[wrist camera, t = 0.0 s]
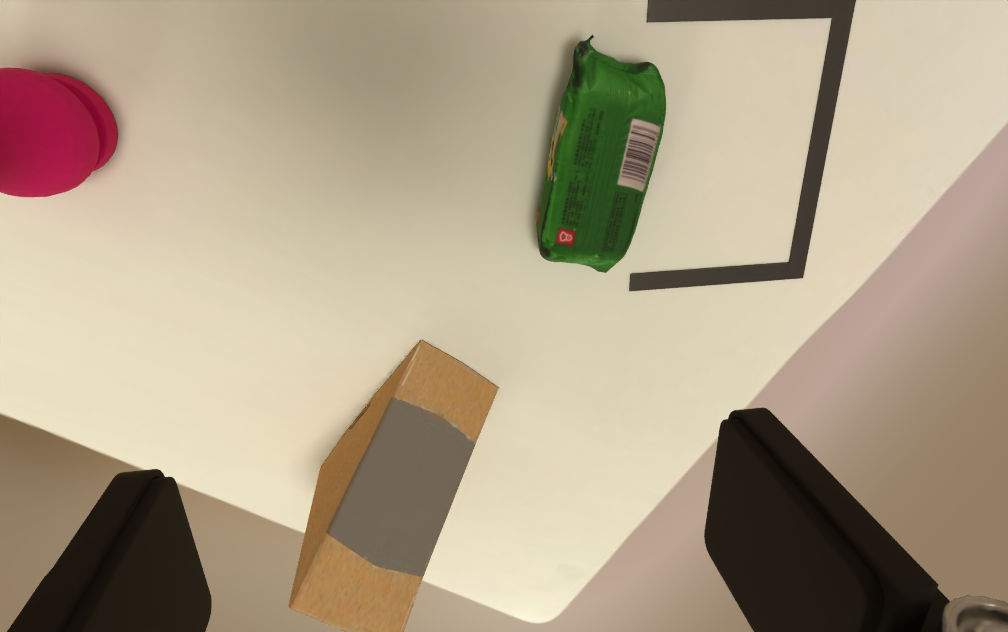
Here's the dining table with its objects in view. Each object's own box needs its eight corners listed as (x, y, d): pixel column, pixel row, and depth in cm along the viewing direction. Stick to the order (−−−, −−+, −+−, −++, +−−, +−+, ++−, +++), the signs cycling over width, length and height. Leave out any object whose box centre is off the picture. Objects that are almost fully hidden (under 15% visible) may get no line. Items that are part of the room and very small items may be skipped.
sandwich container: (502, 387, 53) (535, 508, 39) (400, 507, 56) (396, 655, 43) (420, 336, 50) (424, 447, 36) (317, 466, 53) (286, 612, 40)
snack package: (660, 57, 43) (690, 59, 39) (607, 265, 49) (628, 288, 45) (564, 38, 42) (582, 37, 37) (522, 254, 48) (533, 277, 43)
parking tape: (648, -3, 42) (648, -3, 42) (856, -7, 43) (857, -7, 43) (629, 290, 51) (629, 291, 50) (802, 277, 52) (803, 278, 52)
